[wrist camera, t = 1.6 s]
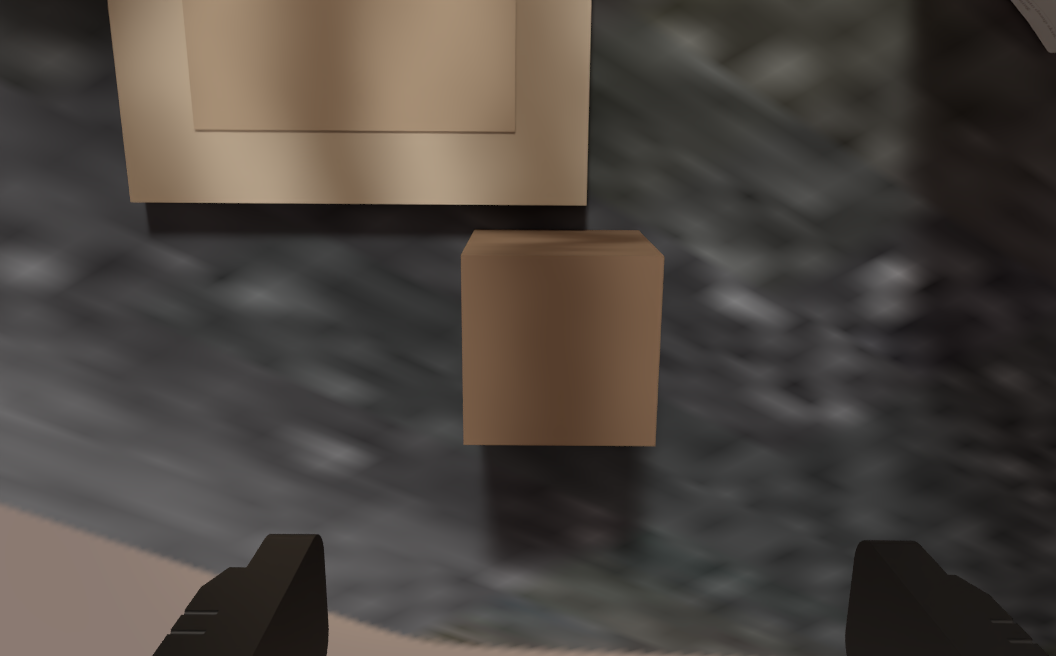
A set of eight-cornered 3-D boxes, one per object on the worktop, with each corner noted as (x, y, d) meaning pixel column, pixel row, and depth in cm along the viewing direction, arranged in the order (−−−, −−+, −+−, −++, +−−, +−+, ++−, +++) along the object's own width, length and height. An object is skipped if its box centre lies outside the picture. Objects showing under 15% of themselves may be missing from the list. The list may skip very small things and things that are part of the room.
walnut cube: (638, 229, 30) (663, 256, 24) (631, 385, 31) (654, 446, 25) (474, 229, 30) (460, 255, 24) (476, 384, 31) (463, 444, 25)
